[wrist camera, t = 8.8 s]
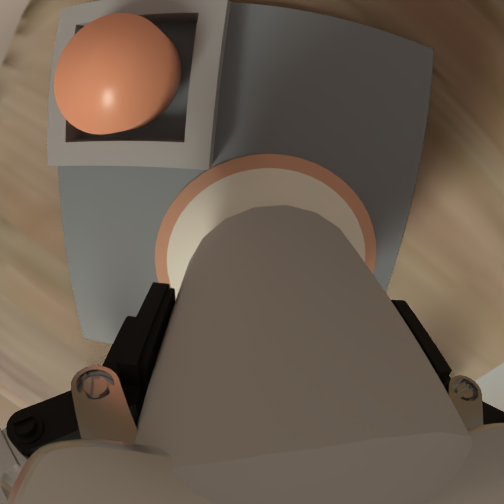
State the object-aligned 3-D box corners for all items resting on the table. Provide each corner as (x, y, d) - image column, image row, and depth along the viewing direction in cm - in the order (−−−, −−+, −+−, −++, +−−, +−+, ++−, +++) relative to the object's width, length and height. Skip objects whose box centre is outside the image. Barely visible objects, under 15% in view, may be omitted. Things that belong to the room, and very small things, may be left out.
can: (165, 222, 13) (9, 526, 2) (344, 181, 12) (589, 441, 1) (216, 355, 16) (198, 589, 5) (358, 325, 15) (442, 550, 4)
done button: (188, 23, 9) (177, 8, 7) (176, 131, 11) (162, 134, 9) (85, 32, 9) (61, 23, 7) (76, 131, 11) (51, 137, 9)
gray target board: (425, 51, 11) (451, 45, 9) (354, 353, 19) (365, 379, 16) (77, 19, 10) (54, 8, 8) (88, 330, 17) (74, 354, 15)
